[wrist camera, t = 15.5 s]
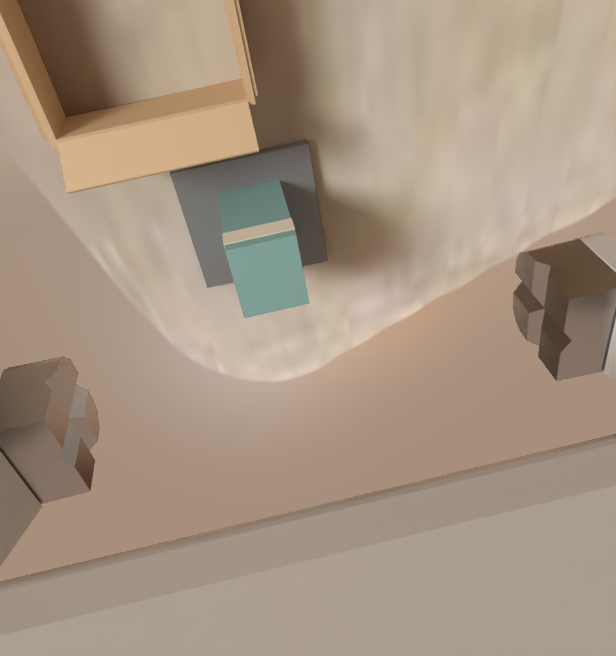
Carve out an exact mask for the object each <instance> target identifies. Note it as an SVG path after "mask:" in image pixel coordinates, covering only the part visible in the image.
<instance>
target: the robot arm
mask: <svg viewBox="0 0 616 656" xmlns="http://www.w3.org/2000/svg"><path fill="white" fill-rule="evenodd" d="M515 273H516V274H517V275H518V276H519V278H520V279H521V280H522V282H521V283H520V285H519V286H518V287H517V289H516V290H515V291H514V293H513V294H514V295H513V310H514V315H515V320H516V323H517V325H518V327H519V329H520V332H521V333H522V334H523V336H524V337H525V339H526V340H527V341H529V342H532V343H534V344H536V345H538V346H539V354H538V356H539V358H540V360H541V361H542V362H543V363H544V365H545V366H546V368H547V369H548V370H549V372H550V373H551V374H552V376H553V377H554V379H555V380H556V381H559V380H563V379H569V378H573V377H578V376H583V375H588V374H593V373H597V372H602V371H604V372H603V374H605V375H607V376H609V377H611V378H613V379H614V380H616V240H615V239H614V238H613V237H612V236H610V235H609V234H607V233H603V232H599V233H595V234H592V235H587V236H584V237H580V238H576V239H574V240H572V241H568V242H563V243H559V244H554V245H550V246H546V247H542V248H537V249H534V250H529V251H525V252H520V253H519V255H518V258H517V260H516V270H515ZM77 377H78V371H77V370H76V368H75V366H74V365H73V363H72V362H71V360H70V359H69V358H66V357H64V356H63V357H58V358H53V359H48V360H43V361H38V362H34V363H29V364H24V365H19V366H15V367H9V368H7V369H1V370H0V566H1V565H2V563H3V562H4V560H5V559H6V557H7V556H8V555H9V553H10V552H11V550H12V549H13V547H14V546H15V545H16V543H17V542H18V540H19V539H20V537H21V536H22V535H23V533H24V532H25V530H26V529H27V527H28V526H29V525H30V523H31V522H32V520H33V519H34V518H35V516H36V515H37V513H38V512H39V510H40V509H41V508H42V505H41V504H43V503H47V502H51V501H55V500H58V499H62V498H66V497H70V496H74V495H77V494H81V493H85V492H89V491H90V490H91V484H92V477H93V471H94V464H95V459H94V458H93V456H92V454H91V453H90V451H89V450H90V449H91V448H92V447H93V446H94V445H95V443H96V442H97V441H98V436H99V421H98V412H97V409H96V406H95V403H94V400H93V398H92V396H91V395H90V393H89V391H88V390H86V389H84V388H82V387H80V386H79V385H77V384H76V382H77ZM0 656H616V434H613V435H609V436H605V437H601V438H597V439H593V440H588V441H584V442H581V443H576V444H572V445H568V446H563V447H559V448H555V449H551V450H547V451H542V452H538V453H534V454H530V455H526V456H522V457H517V458H513V459H509V460H505V461H501V462H497V463H492V464H489V465H484V466H480V467H475V468H471V469H467V470H463V471H459V472H454V473H450V474H446V475H442V476H438V477H433V478H429V479H425V480H421V481H417V482H413V483H408V484H405V485H400V486H396V487H392V488H388V489H384V490H380V491H375V492H372V493H367V494H363V495H359V496H355V497H350V498H346V499H342V500H338V501H334V502H329V503H325V504H321V505H317V506H313V507H309V508H305V509H300V510H296V511H292V512H288V513H284V514H280V515H276V516H271V517H267V518H263V519H259V520H255V521H251V522H246V523H242V524H239V525H235V526H230V527H226V528H222V529H217V530H213V531H209V532H205V533H201V534H197V535H192V536H188V537H184V538H180V539H176V540H172V541H167V542H163V543H159V544H155V545H151V546H147V547H142V548H138V549H134V550H130V551H126V552H122V553H117V554H113V555H109V556H105V557H101V558H97V559H93V560H88V561H84V562H80V563H76V564H72V565H67V566H63V567H59V568H55V569H51V570H47V571H42V572H39V573H34V574H30V575H26V576H22V577H18V578H14V579H9V580H6V581H1V582H0Z"/></svg>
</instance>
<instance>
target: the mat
mask: <svg viewBox="0 0 616 656" xmlns="http://www.w3.org/2000/svg"><path fill="white" fill-rule="evenodd" d="M170 174H171V177H172V180H173V183H174V186H175V190H176V193H177V196H178V199H179V202H180V205H181V208H182V211H183V214H184V217H185V220H186V223H187V226H188V229H189V232H190V235H191V239H192V242H193V245H194V248H195V251H196V254H197V257H198V260H199V263H200V266H201V269H202V272H203V275H204V278H205V281H206V284H207V288H208V287H213V286H217V285H222V284H226V283H230V282H234V280H233V277H232V273H231V270H230V266H229V263H228V260H227V256H226V253H225V248H224V245H223V236H222V233H223V229H222V220H221V211H220V202H219V194H220V193H225V192H229V191H234V190H238V189H243V188H247V187H252V186H256V185H261V184H265V183H270V182H274V181H280V184H281V188H282V191H283V194H284V197H285V201H286V204H287V207H288V210H289V214H290V217H291V218H292V221H293V224H294V227H295V232H296V237H297V242H298V247H299V252H300V257H301V263H302V266H305V265H310V264H314V263H319V262H323V261H327V255H326V249H325V243H324V237H323V230H322V224H321V218H320V212H319V206H318V199H317V193H316V187H315V181H314V174H313V168H312V162H311V156H310V150H309V143H308V141H307V140H303V141H299V142H294V143H290V144H285V145H281V146H276V147H272V148H267V149H262V150H259V152H255V153H251V154H246V155H242V156H237V157H233V158H228V159H224V160H219V161H214V162H210V163H205V164H201V165H196V166H192V167H187V168H183V169H178V170H174V171H170Z"/></svg>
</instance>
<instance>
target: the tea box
mask: <svg viewBox="0 0 616 656" xmlns="http://www.w3.org/2000/svg"><path fill="white" fill-rule="evenodd" d="M219 202H220V211H221V220H222V229H223V233H222V236H223V245H224V248H225V253H226V256H227V260H228V263H229V266H230V270H231V273H232V277H233V280H234V284H235V287H236V291H237V294H238V298H239V301H240V305H241V308H242V311H243V315H244V318H248V317H252V316H256V315H261V314H265V313H269V312H274V311H278V310H282V309H287V308H291V307H296V306H300V305H304V304H309V299H308V293H307V288H306V283H305V278H304V273H303V268H302V263H301V257H300V252H299V247H298V242H297V237H296V232H295V227H294V224H293V221H292V218H291V217H290V214H289V210H288V207H287V204H286V201H285V197H284V194H283V191H282V188H281V184H280V181H274V182H270V183H265V184H261V185H256V186H252V187H247V188H243V189H238V190H234V191H229V192H225V193H220V194H219Z"/></svg>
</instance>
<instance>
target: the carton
mask: <svg viewBox="0 0 616 656" xmlns="http://www.w3.org/2000/svg"><path fill="white" fill-rule="evenodd" d="M224 1H225V5H226V10H227V14H228V19H229V23H230V28H231V32H232V37H233V41H234V46H235V51H236V55H237V60H238V64H239V69H240V73H241V78H242V79H240V80H236V81H231V82H227V83H222V84H217V85H213V86H208V87H203V88H199V89H194V90H190V91H185V92H180V93H176V94H171V95H166V96H162V97H157V98H153V99H148V100H143V101H139V102H134V103H129V104H125V105H120V106H115V107H111V108H106V109H102V110H97V111H92V112H88V113H83V114H78V115H74V116H69V117H66V115H65V113H64V110H63V108H62V106H61V103H60V101H59V98H58V96H57V94H56V91H55V89H54V86H53V84H52V82H51V79H50V77H49V75H48V72H47V70H46V67H45V65H44V63H43V60H42V58H41V55H40V53H39V51H38V48H37V46H36V44H35V41H34V39H33V36H32V34H31V32H30V29H29V27H28V24H27V22H26V20H25V17H24V15H23V13H22V10H21V8H20V5H19V3H18V1H17V0H0V44H1V46H2V48H3V50H4V53H5V55H6V57H7V59H8V61H9V64H10V66H11V68H12V70H13V72H14V75H15V77H16V79H17V81H18V83H19V86H20V88H21V90H22V92H23V94H24V97H25V99H26V101H27V103H28V105H29V108H30V110H31V112H32V114H33V116H34V119H35V121H36V123H37V125H38V127H39V130H40V132H41V134H42V136H43V138H44V141H45V142H46V141H49V143H50V145H51V148H56V147H58V150H59V155H60V160H61V166H62V171H63V176H64V181H65V186H66V191H67V193H68V194H69V193H74V192H78V191H83V190H87V189H92V188H96V187H101V186H106V185H110V184H115V183H119V182H124V181H128V180H133V179H137V178H142V177H146V176H151V175H155V174H160V173H165V172H169V171H174V170H178V169H183V168H187V167H192V166H196V165H201V164H205V163H210V162H214V161H219V160H224V159H228V158H233V157H237V156H242V155H246V154H251V153H255V152H259V147H258V143H257V139H256V135H255V130H254V126H253V122H252V117H251V113H250V109H249V105H254V104H256V102H255V97H254V96H257V95H258V92H257V88H256V83H255V78H254V73H253V68H252V63H251V58H250V54H249V49H248V44H247V39H246V34H245V29H244V25H243V20H242V15H241V10H240V5H239V0H224ZM253 92H254V93H253Z"/></svg>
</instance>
